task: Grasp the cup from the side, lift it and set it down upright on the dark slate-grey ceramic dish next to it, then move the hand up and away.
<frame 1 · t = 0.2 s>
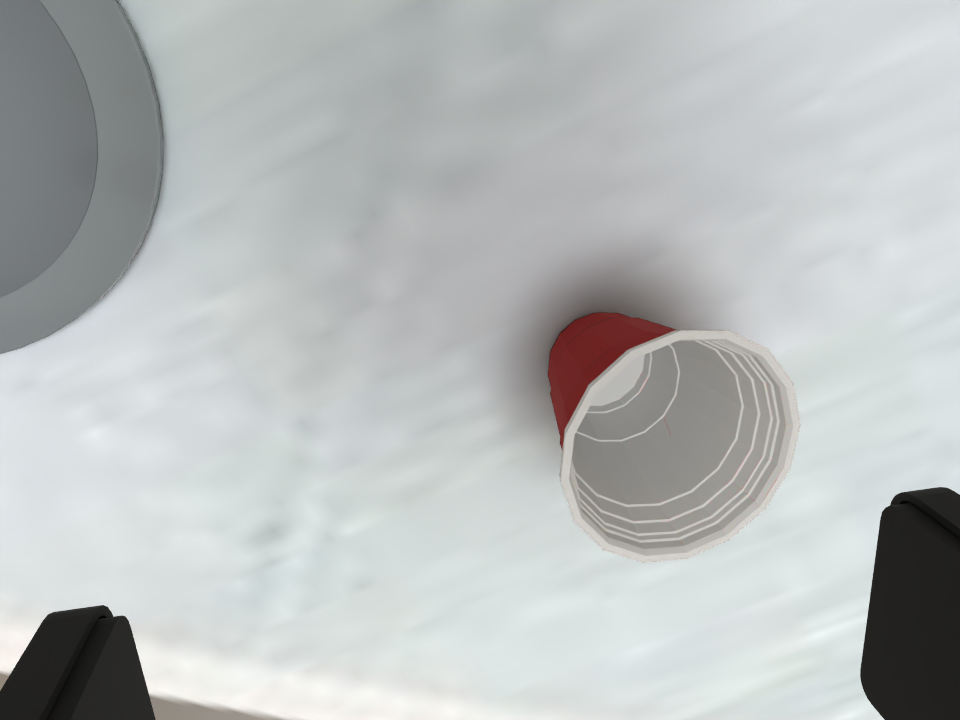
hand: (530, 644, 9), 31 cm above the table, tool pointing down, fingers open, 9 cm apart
plastic cup: (600, 360, 42), on the table
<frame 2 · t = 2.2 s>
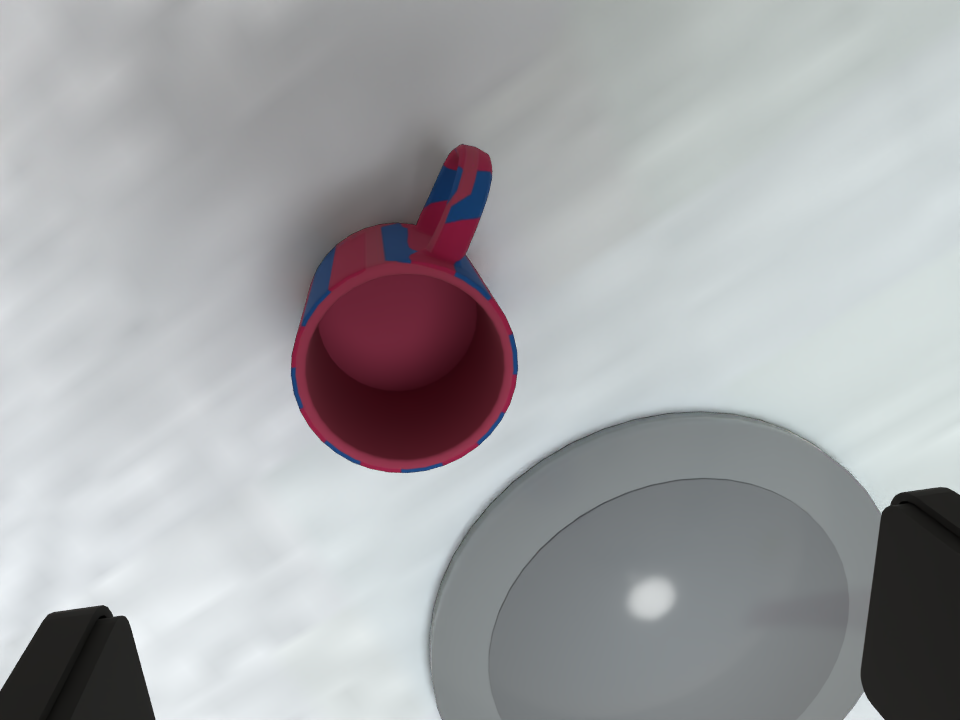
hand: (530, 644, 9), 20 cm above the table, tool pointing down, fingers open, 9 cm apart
cup: (416, 271, 28), on the table
dish: (662, 627, 35), on the table
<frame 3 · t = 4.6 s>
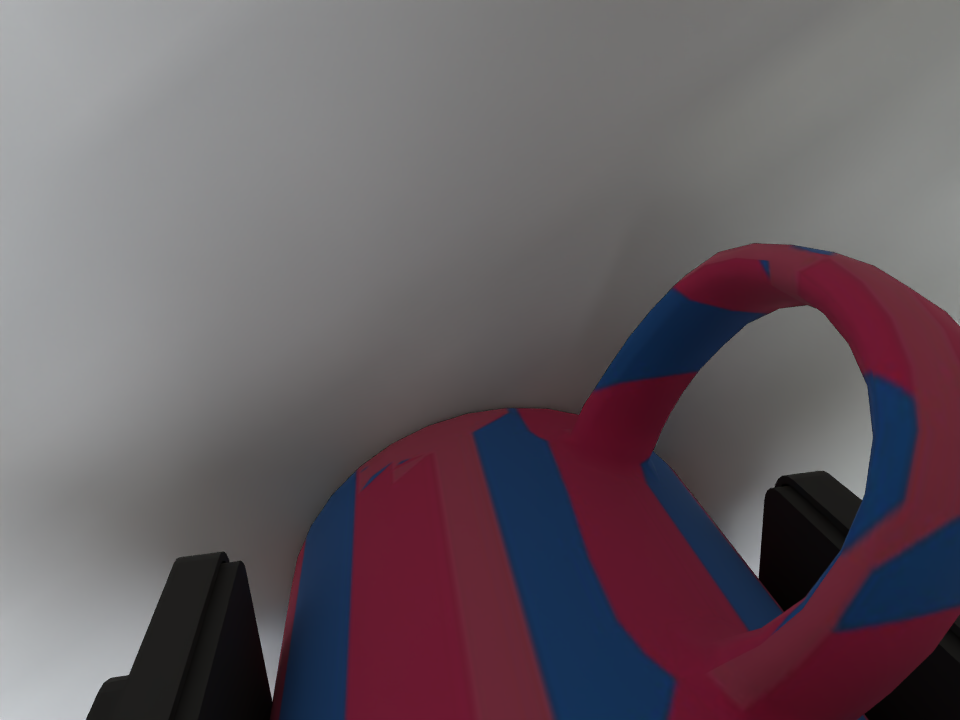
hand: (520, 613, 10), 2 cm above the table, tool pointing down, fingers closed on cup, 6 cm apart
cup: (549, 506, 12), on the table, touching gripper
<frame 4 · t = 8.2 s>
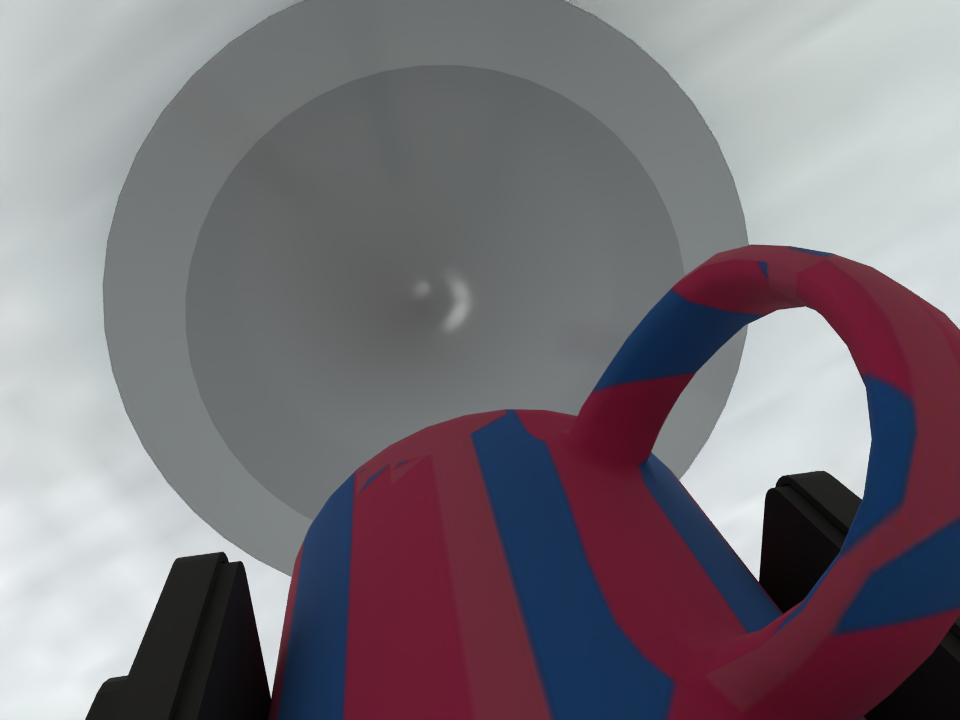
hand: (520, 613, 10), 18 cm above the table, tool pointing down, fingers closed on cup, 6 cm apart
cup: (548, 507, 12), point 16 cm above the table, touching gripper
dish: (443, 321, 27), on the table
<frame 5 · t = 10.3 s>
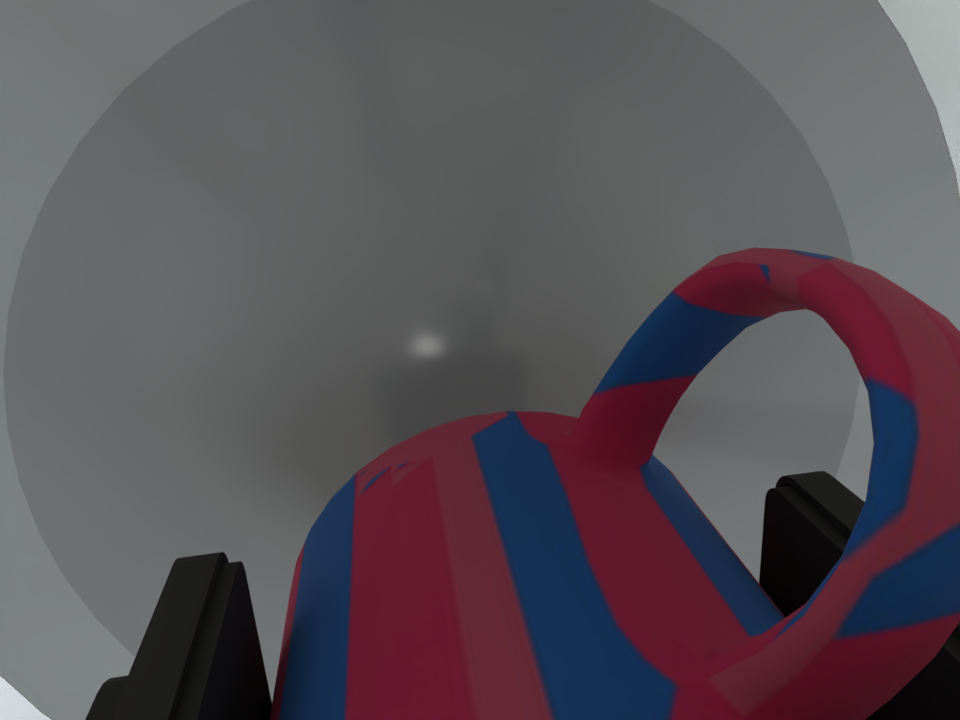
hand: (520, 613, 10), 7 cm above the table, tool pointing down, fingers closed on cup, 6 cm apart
cup: (549, 509, 12), point 5 cm above the table, touching gripper
dish: (458, 402, 16), on the table
when the fingers open (4 cm above the table, at t = 11.9 s): cup stays where it is, resting on dish.
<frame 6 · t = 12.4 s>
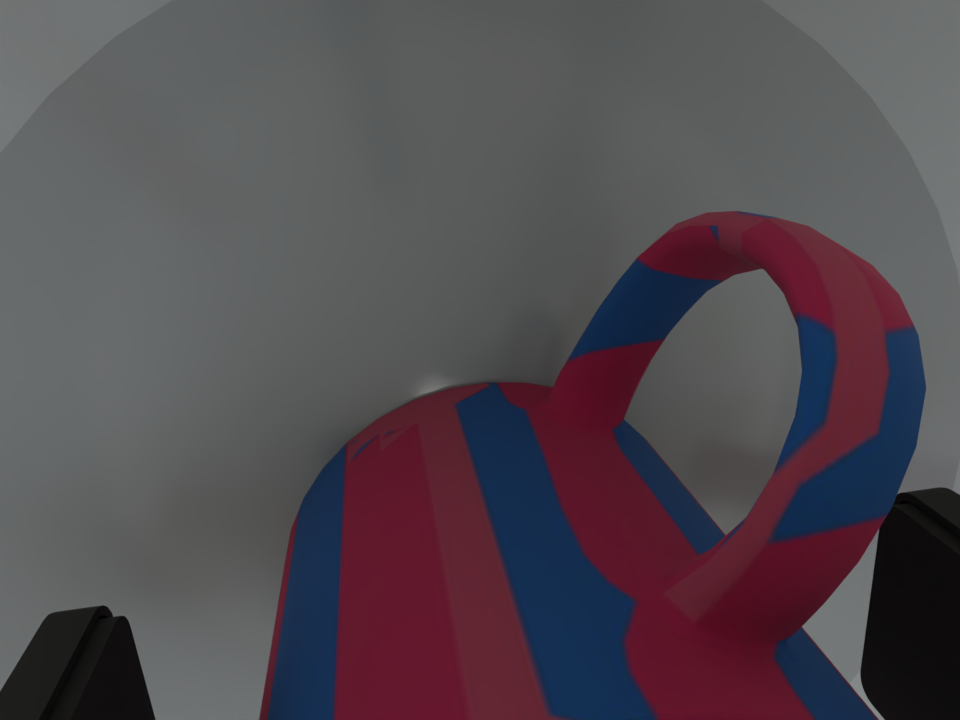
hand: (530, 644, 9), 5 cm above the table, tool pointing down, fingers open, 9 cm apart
cup: (531, 477, 12), point 1 cm above the table, touching dish
dish: (476, 471, 14), on the table
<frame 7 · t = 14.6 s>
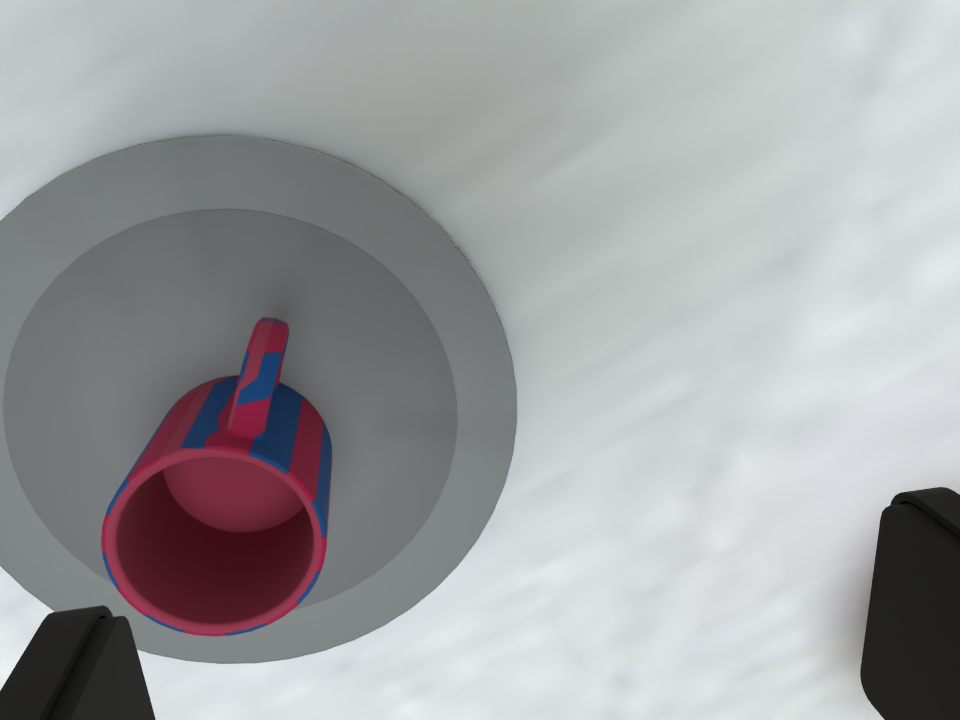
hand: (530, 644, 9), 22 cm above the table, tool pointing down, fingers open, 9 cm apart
cup: (260, 416, 30), point 1 cm above the table, touching dish
dish: (246, 417, 31), on the table
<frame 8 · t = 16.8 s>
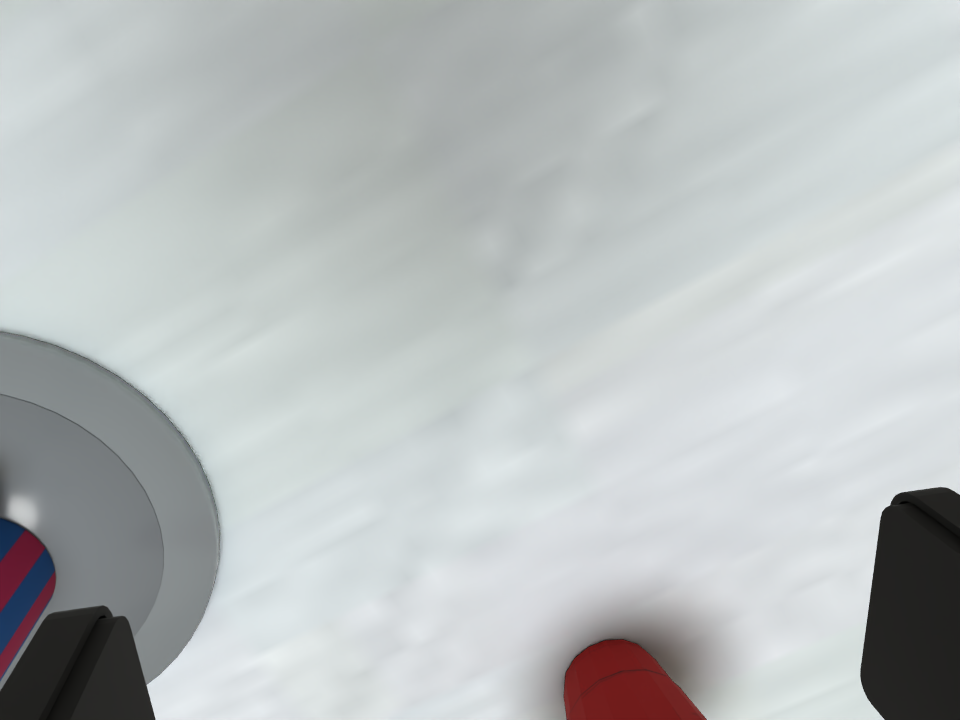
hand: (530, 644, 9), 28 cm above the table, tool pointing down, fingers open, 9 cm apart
plastic cup: (611, 674, 47), on the table
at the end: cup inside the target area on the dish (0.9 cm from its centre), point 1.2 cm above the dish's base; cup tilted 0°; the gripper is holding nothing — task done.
